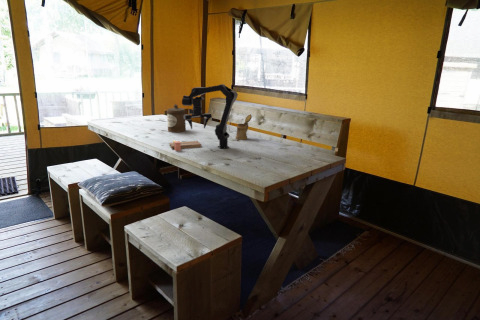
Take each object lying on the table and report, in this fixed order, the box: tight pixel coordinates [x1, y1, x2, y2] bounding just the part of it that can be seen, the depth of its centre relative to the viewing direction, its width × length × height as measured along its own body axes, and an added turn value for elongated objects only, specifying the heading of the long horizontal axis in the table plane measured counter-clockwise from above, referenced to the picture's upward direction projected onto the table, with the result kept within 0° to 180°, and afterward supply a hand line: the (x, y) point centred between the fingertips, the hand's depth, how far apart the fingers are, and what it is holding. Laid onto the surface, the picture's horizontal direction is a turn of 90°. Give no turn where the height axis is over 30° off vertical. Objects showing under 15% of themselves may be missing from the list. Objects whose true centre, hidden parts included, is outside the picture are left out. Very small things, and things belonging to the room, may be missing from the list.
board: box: [169, 140, 202, 150], centre depth 231 cm, size 10×20×2 cm, turn 112°
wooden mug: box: [235, 114, 253, 141], centre depth 255 cm, size 9×14×18 cm, turn 127°
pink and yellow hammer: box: [172, 140, 182, 152], centre depth 225 cm, size 13×4×6 cm, turn 22°
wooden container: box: [166, 104, 187, 133], centre depth 278 cm, size 15×15×22 cm
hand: (198, 128), depth 232 cm, fingers open, 9 cm apart
